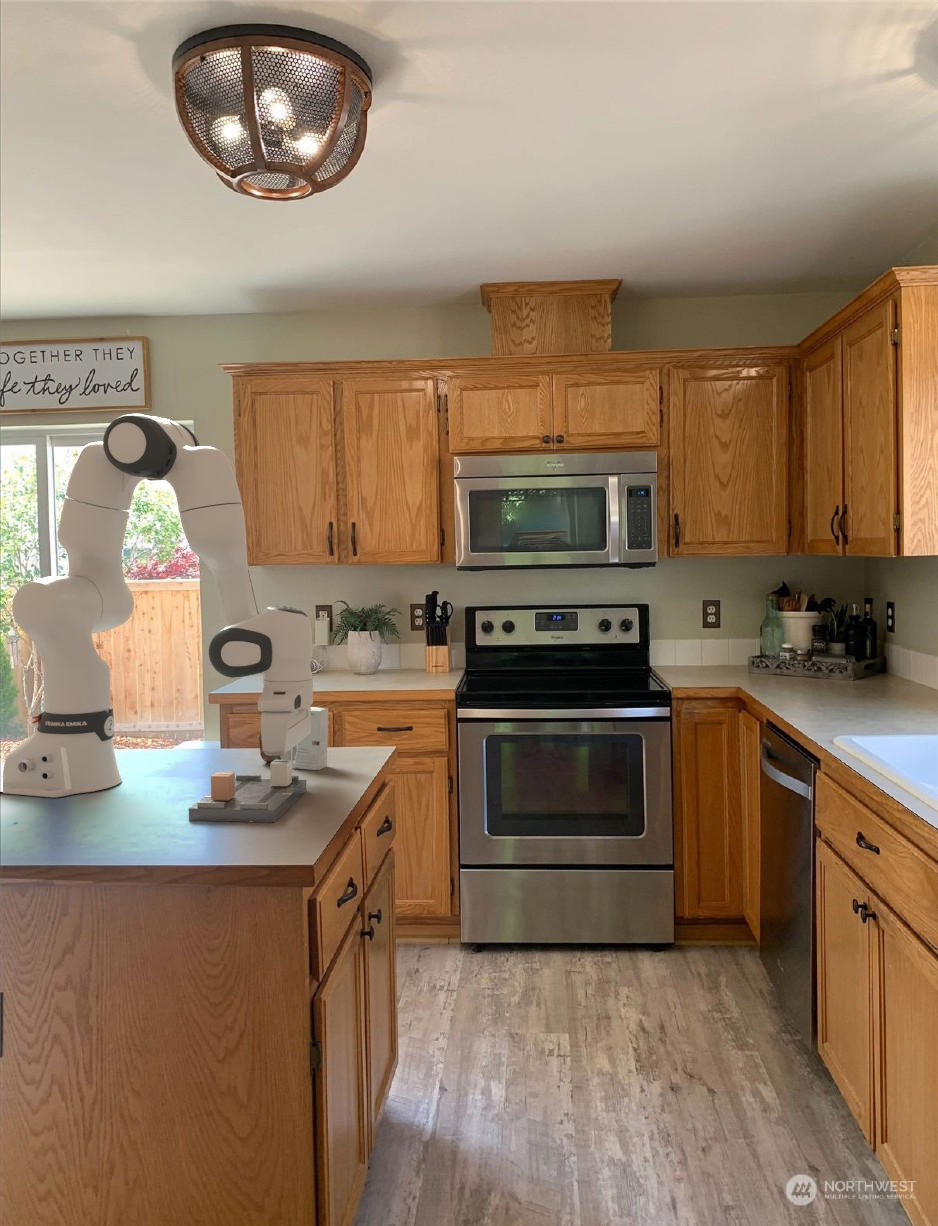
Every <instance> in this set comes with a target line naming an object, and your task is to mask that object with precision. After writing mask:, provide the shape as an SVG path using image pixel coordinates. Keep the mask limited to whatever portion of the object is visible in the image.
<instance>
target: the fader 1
mask: <svg viewBox="0 0 938 1226" xmlns="http://www.w3.org/2000/svg"><path fill="white" fill-rule="evenodd" d="M235 774H236V773H235V772H234V771H216V772H214V773H213V774H212V775H211V776H210V793H211V800H230V799H231V798H233V797H234V796H235V779H236V775H235Z"/></svg>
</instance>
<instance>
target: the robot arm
mask: <svg viewBox="0 0 938 1226" xmlns="http://www.w3.org/2000/svg"><path fill="white" fill-rule="evenodd" d="M199 442H200V441H199V440H198V438H197V436H196V435H195V434H194V432H192V431H191V430H190V429H189V428H188V427H186V426H185V425H184V424H182V423H179V422H176V421H173V420H171V419H167V418H166V417H162V416H157V415H156V416H155V415H154V416H153V415H152V416H150V415H146V414H143V413H131V414H130V413H129V414H124V415H121V416H119V417H117V418H115V419H114V420H113V421H112V422H110V423H109V425H108V427H107V428H106V429H105V431H104V435H103V439H102V441H95V442H90V443H88V444H86V445H84V446H83V447H82V449H81V450H80V451H79V453H78V456H77V458H76V460H75V463H74V466H73V468H72V471H71V474H70V476H69V480H68V483H67V488H66V492H65V496H64V501H63V506H62V511H61V516H60V522H59V526H58V530H57V540H58V542H59V544H60V546H61V547H62V548H63V549H64V550H65V552H66V554H67V559H68V573H67V575H61V576H60V575H58V576H57V575H56V576H55V575H54V576H53V575H52V576H44V577H42V578H38V579H35V580H32V581H30V582H27V583H25V584H23V585H22V586H20V587H19V588H18V589H17V591H16V592H15V595H14V596H13V599H12V604H11V605H12V607H11V609H12V615H13V618H14V621H15V623H16V625H17V626H18V627H19V628H20V630H22V632H25V634H27V635H28V637H29V638H30V639H31V640H32V642H33V644H34V645H35V648H36V650H37V652H38V655H39V658H40V661H41V664H42V665H41V666H42V667H43V668H42V669H43V673H44V674H43V675H44V689H45V693H44V694H45V711H42V712H41V713H40V714H38V715H36V716H32V718H31V719H33V721H31V724H36V723H37V724H38V726H37V728H36V731H35V733H33V734H32V735H31V736H29V737H28V738H27V739H25V740H24V741H23V742H22V743H21V744H19V745H18V746H16V748H14V749H13V750H12V751H10V752H9V753H8V755H7V756H6V758H5V761H4V764H3V771H2V777H3V793H2V794H10V795H22V796H33V797H43V798H44V797H46V798H62V797H65V796H66V797H67V796H70V795H75V794H83V793H90V792H95V791H96V792H97V791H101V790H104V789H109V788H112V787H116V786H117V785H119V784H120V783H121V782H122V781H123V780H122V777H121V775H120V771H119V768H118V764H117V759H116V755H115V754H116V753H115V747H114V735H115V734H114V733H115V721H114V718H115V717H114V707H112V705H111V704H112V703H111V702H112V700H111V698H112V697H111V669H110V665H108V663H107V662H106V661H105V660H104V659H102V657H100V655H99V654H98V652H97V650H96V647H95V644H94V640H93V635H92V634H98V633H99V634H100V633H106V632H109V631H111V630H113V629H116V628H118V627H120V626H122V625H123V624H125V623H126V622H128V620H129V619H130V618H131V616H132V614H133V611H134V607H135V601H134V596H133V592H132V590H131V588H130V587H129V586H128V585H127V583H126V581H125V576H124V570H123V569H124V568H123V546H124V540H125V535H126V530H127V525H128V520H129V516H130V515H129V514H130V510H131V506H132V500H133V496H134V492H135V489H136V488H137V486H138V485H139V483H140V482H141V481H143V480H145V479H146V480H147V481H151V482H152V481H166V482H167V483H168V484H170V485H171V488H172V489H173V491H174V494H175V497H176V502H177V507H178V513H179V517H180V522H181V526H182V530H183V533H184V536H185V539H186V541H187V544H188V546H189V548H190V550H191V551H192V553H194V555H196V556H197V558H199V559H200V560H201V562H203V563H204V565H206V567H207V568H208V569H209V570H210V573H211V574H212V576H213V578H214V580H215V583H216V587H217V590H218V592H217V593H218V595H219V596H218V597H219V600H220V603H221V607H222V608H221V609H222V612H223V617H224V628H222V629H221V630H219V631H218V632H217V633H216V634H215V635H214V636H213V638H212V639H211V641H210V644H209V646H208V658H209V661H210V664H211V665H212V667H213V668H214V670H216V672H218V673H219V674H220V675H222V676H223V677H227V678H231V679H243V678H246V677H249V676H253V675H257V674H258V675H259V674H260V675H263V688H262V692H261V695H260V696H259V698H258V700H257V710H258V711H259V712H261V715H260V731H261V735H262V746H263V750H264V753H265V754H266V755H280V757H281V760H292V770H293V769H296V768H295V767H296V756H297V751H298V743H300V742H301V741H302V740H304V739H305V738H306V737H307V736H309V735H310V733H311V708H310V707H311V705H312V704H313V703H314V681H313V680H314V679H313V678H314V677H313V672H312V668H311V667H312V666H311V663H312V658H313V654H314V653H313V651H314V650H313V649H314V648H313V632H312V625H311V620H310V618H309V616H308V615H307V613H305V611H303V610H302V609H300V608H299V609H298V608H295V607H292V606H291V607H290V606H286V605H269V606H267V607H266V608H265V609H264V610H262V611H261V612H259V609H258V606H257V603H256V598H255V593H254V589H253V585H252V581H251V575H250V571H249V567H248V566H249V565H248V553H247V552H248V551H247V531H246V530H247V528H246V518H245V513H244V511H245V510H244V507H243V502H242V496H241V493H240V488H239V486H238V480H237V479H236V476H235V473H234V470H233V467H232V465H231V462H230V459H229V458H228V456H227V454H225V452H224V451H222V450H221V449H218V448H216V447H213V446H207V445H205V446H204V445H202V446H201V445H200V443H199Z"/></svg>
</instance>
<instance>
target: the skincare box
mask: <svg viewBox="0 0 938 1226" xmlns="http://www.w3.org/2000/svg"><path fill="white" fill-rule="evenodd" d="M310 708H311V733H310V735H309V736H307V737H306V738H305V739H304V740H302V741H301V742H300V743H298V751H297V756H296V767H295V768H294V769H301V770H311V771H319V770H323V769H324V768H326V767H327V766H328V740H329V739H328V737H329V736H328V735H329V733H328V731H329V708H328V707H319V706H318V707H317V706H310Z"/></svg>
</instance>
